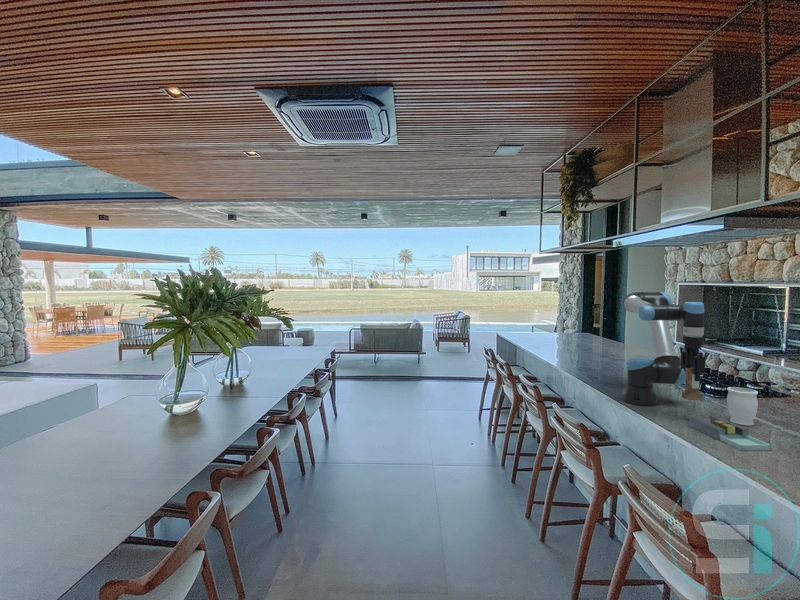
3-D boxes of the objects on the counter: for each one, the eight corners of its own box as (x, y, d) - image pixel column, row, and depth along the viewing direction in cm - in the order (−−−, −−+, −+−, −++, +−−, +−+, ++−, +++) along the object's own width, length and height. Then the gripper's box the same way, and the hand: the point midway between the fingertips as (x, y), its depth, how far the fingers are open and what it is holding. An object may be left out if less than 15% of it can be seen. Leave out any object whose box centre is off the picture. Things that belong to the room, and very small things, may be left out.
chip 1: (713, 427, 162) (713, 420, 162) (720, 427, 162) (720, 420, 162) (719, 430, 159) (719, 423, 159) (726, 430, 159) (726, 423, 159)
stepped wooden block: (681, 397, 179) (682, 367, 178) (693, 396, 179) (694, 367, 178) (689, 400, 174) (690, 370, 173) (702, 400, 174) (702, 369, 173)
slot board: (688, 425, 170) (688, 416, 170) (715, 425, 170) (716, 415, 170) (718, 440, 154) (718, 429, 154) (748, 439, 154) (748, 429, 154)
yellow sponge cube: (721, 431, 158) (721, 424, 158) (728, 431, 158) (728, 424, 158) (727, 434, 155) (727, 426, 155) (735, 434, 155) (735, 426, 155)
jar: (763, 427, 166) (764, 393, 166) (736, 426, 169) (736, 392, 168) (746, 419, 177) (747, 387, 176) (721, 418, 179) (721, 386, 178)
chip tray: (719, 440, 154) (719, 435, 154) (747, 439, 154) (747, 434, 154) (741, 450, 144) (741, 445, 144) (771, 450, 144) (771, 445, 144)
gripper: (672, 333, 183) (671, 381, 184) (698, 338, 166) (697, 392, 168) (687, 333, 183) (686, 381, 184) (716, 338, 166) (714, 391, 167)
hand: (692, 386), depth 176 cm, fingers closed on stepped wooden block, 3 cm apart
